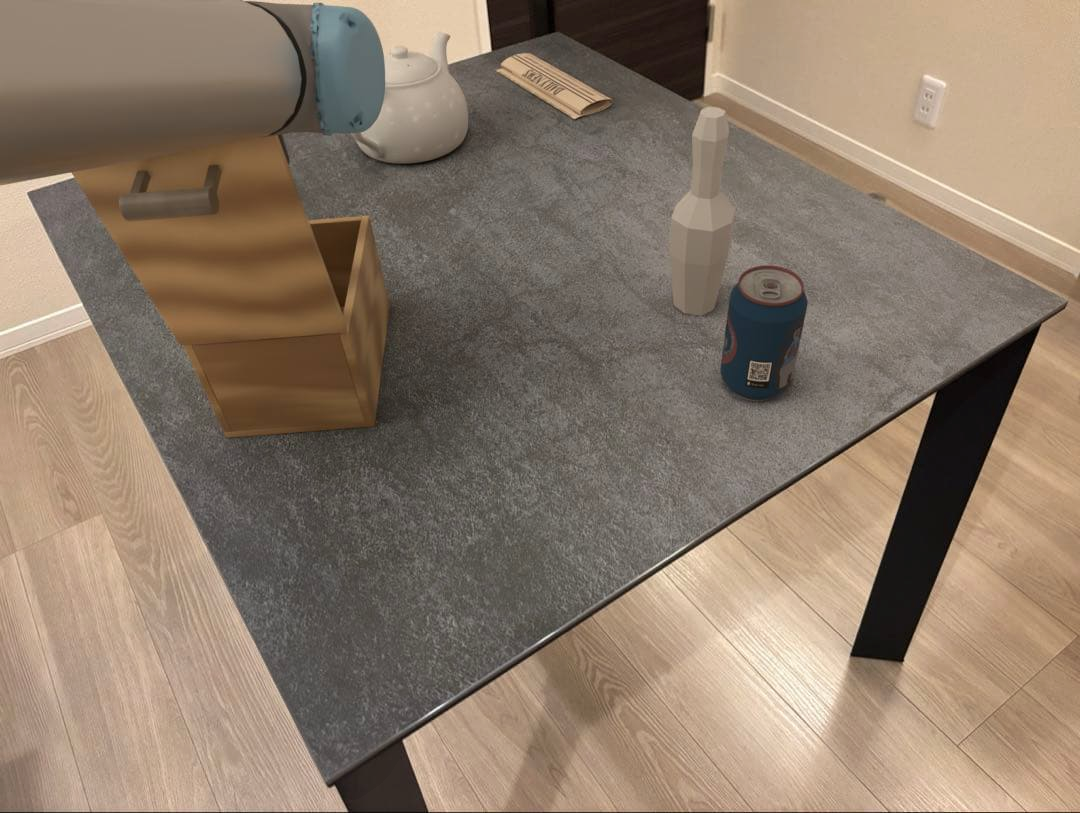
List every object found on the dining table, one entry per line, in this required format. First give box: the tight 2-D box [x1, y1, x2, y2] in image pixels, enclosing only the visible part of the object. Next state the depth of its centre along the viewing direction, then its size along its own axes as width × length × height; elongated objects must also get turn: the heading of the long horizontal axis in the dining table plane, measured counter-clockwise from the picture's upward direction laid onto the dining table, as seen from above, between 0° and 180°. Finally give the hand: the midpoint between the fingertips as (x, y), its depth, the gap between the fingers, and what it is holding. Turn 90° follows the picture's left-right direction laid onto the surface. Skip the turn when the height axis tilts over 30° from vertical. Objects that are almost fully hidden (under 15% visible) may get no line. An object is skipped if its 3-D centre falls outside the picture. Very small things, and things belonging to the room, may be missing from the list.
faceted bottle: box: [668, 106, 736, 317], centre depth 84 cm, size 6×6×22 cm
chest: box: [183, 214, 391, 439], centre depth 84 cm, size 20×15×12 cm
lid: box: [71, 135, 347, 347], centre depth 63 cm, size 21×15×5 cm
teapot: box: [349, 31, 469, 165], centre depth 119 cm, size 19×18×14 cm
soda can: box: [720, 265, 809, 402], centre depth 78 cm, size 7×7×12 cm
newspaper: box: [495, 52, 613, 120], centre depth 133 cm, size 24×7×2 cm, turn 33°
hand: (304, 339), depth 85 cm, fingers closed on mug, 8 cm apart
